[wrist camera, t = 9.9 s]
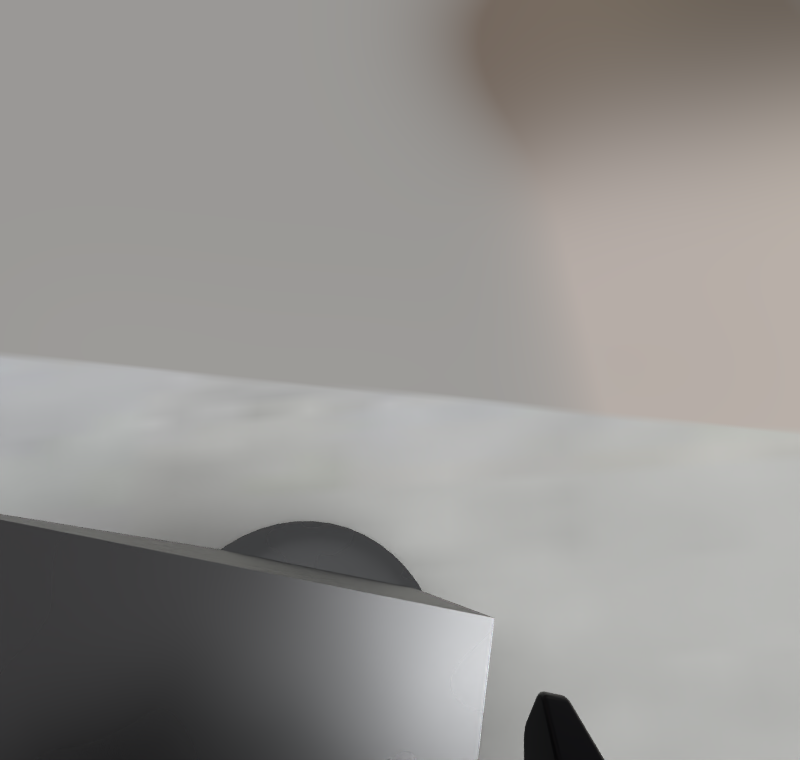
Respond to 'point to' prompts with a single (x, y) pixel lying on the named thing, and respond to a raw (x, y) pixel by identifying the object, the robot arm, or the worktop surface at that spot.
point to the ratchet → (325, 551)
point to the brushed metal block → (224, 656)
